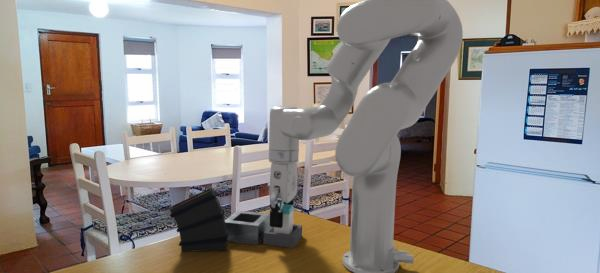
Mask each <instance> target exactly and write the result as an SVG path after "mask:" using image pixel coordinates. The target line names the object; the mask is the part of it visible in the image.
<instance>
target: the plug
mask: <svg viewBox="0 0 600 273" xmlns="http://www.w3.org/2000/svg"><path fill="white" fill-rule="evenodd" d="M277 204H278V206H279V205H280V203H277ZM282 212H283V226H282V228H277V227H274V233H283V234H292V233H293V224H294V204H293V205H287V204H283V207H282Z"/></svg>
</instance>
